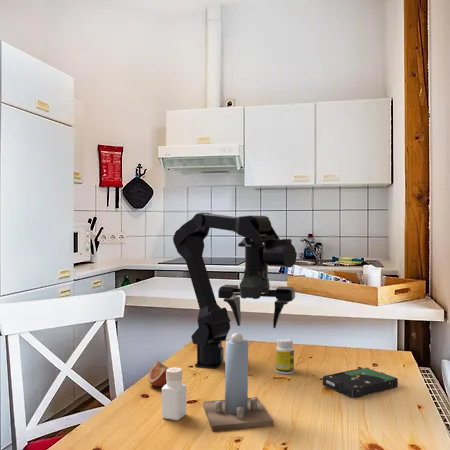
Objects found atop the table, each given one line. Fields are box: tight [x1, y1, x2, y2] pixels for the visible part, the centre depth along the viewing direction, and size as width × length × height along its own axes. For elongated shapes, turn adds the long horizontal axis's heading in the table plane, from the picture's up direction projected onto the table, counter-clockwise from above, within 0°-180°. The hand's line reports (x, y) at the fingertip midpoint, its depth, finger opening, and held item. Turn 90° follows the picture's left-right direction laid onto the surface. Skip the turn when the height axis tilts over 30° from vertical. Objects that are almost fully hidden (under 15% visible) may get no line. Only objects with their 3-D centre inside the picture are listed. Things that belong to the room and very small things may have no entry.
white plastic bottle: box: [161, 366, 187, 421], centre depth 93 cm, size 4×4×10 cm
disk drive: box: [322, 367, 399, 400], centre depth 110 cm, size 10×3×15 cm
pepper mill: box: [224, 332, 249, 415], centre depth 93 cm, size 5×5×16 cm
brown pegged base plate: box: [202, 396, 274, 432], centre depth 93 cm, size 12×12×3 cm
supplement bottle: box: [275, 337, 295, 375], centre depth 121 cm, size 5×5×8 cm
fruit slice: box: [147, 360, 170, 388], centre depth 111 cm, size 8×7×5 cm
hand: (256, 326), depth 116 cm, fingers open, 9 cm apart
